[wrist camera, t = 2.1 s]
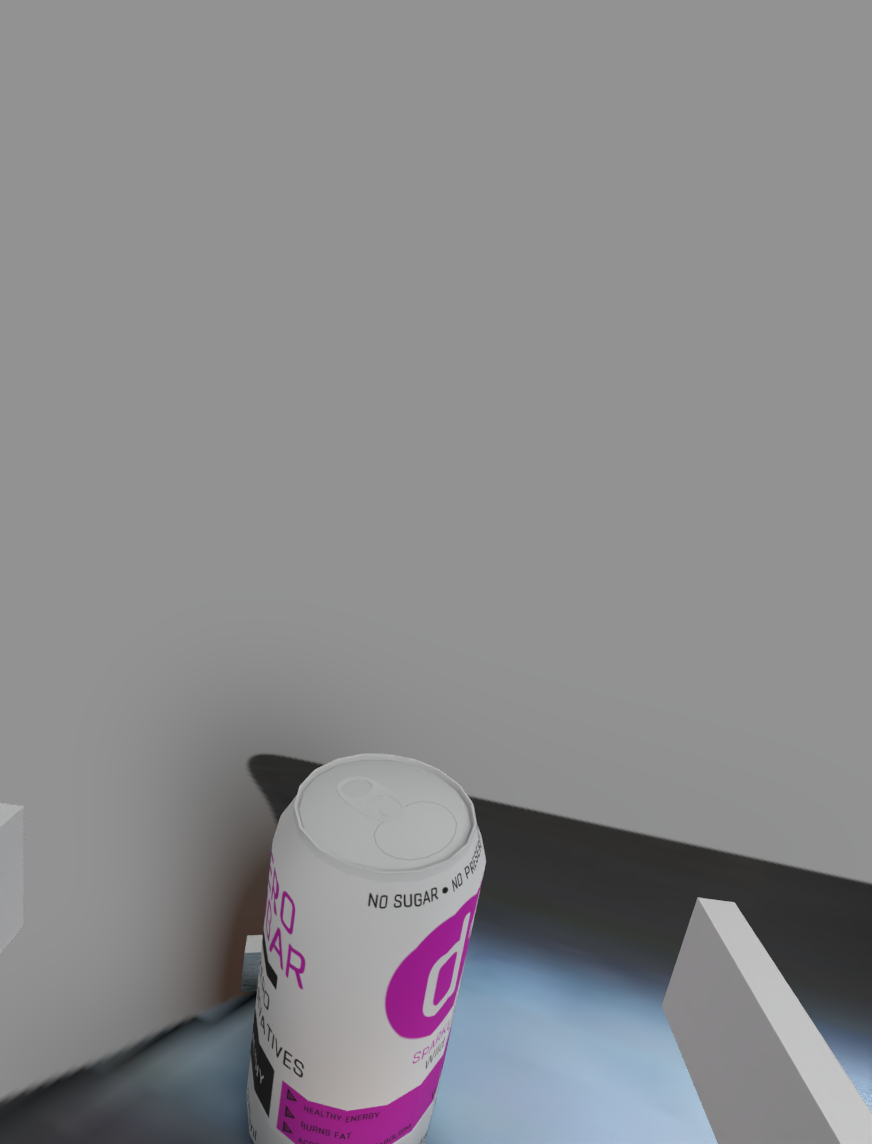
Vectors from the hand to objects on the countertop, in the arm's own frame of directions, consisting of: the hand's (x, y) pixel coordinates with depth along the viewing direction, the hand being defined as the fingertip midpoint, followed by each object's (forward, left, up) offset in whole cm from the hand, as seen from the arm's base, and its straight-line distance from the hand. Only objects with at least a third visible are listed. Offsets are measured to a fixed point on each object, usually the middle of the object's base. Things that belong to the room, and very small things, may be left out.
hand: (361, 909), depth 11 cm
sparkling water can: (-2, -10, -20) cm, 22 cm away
